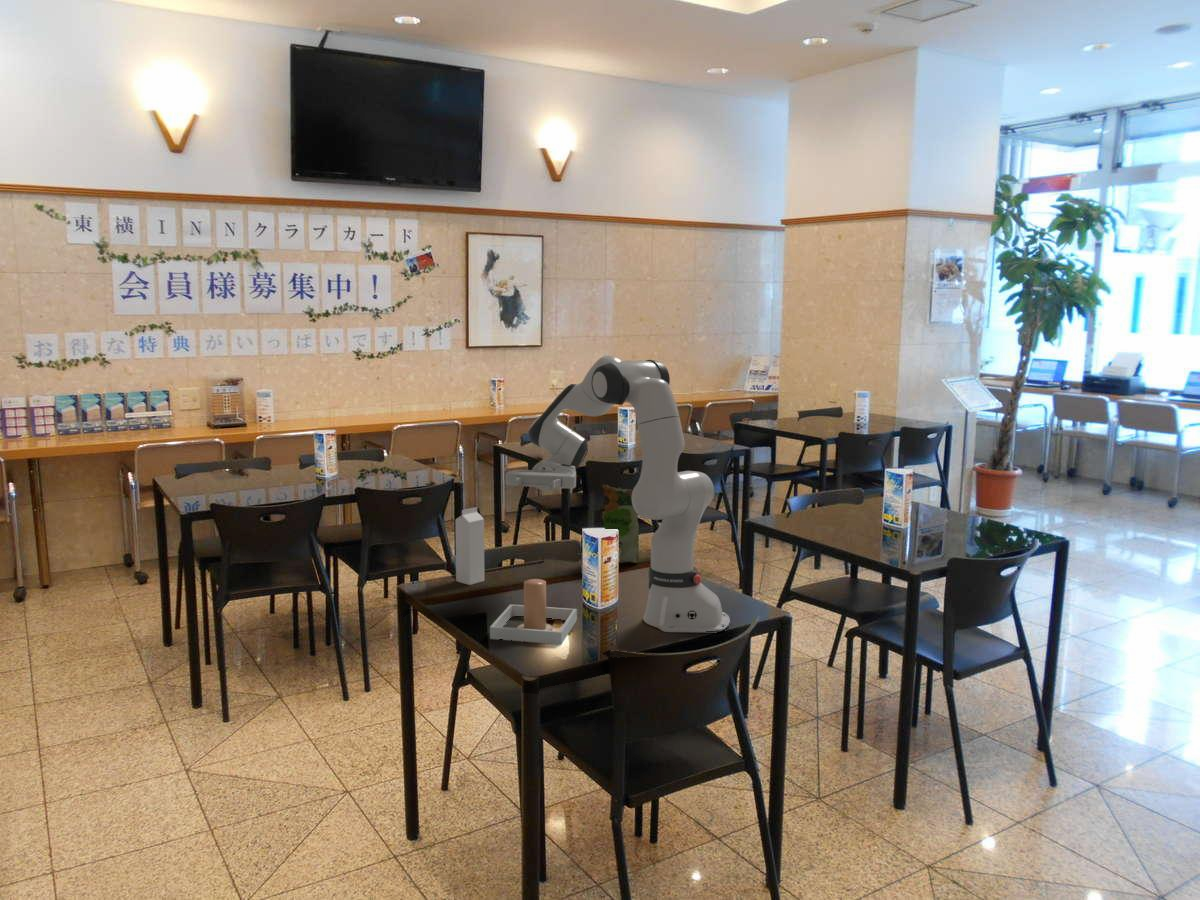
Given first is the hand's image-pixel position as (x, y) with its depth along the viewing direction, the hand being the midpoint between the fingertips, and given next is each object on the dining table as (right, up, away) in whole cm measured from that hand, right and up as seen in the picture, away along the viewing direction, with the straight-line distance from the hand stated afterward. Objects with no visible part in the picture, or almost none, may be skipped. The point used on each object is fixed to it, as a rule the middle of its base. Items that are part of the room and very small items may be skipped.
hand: (534, 484), depth 257 cm
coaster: (+2, -36, -23) cm, 42 cm away
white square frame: (+2, -36, -23) cm, 42 cm away
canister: (+2, -36, -23) cm, 42 cm away
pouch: (+24, -27, +40) cm, 54 cm away
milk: (-20, -30, +18) cm, 40 cm away
